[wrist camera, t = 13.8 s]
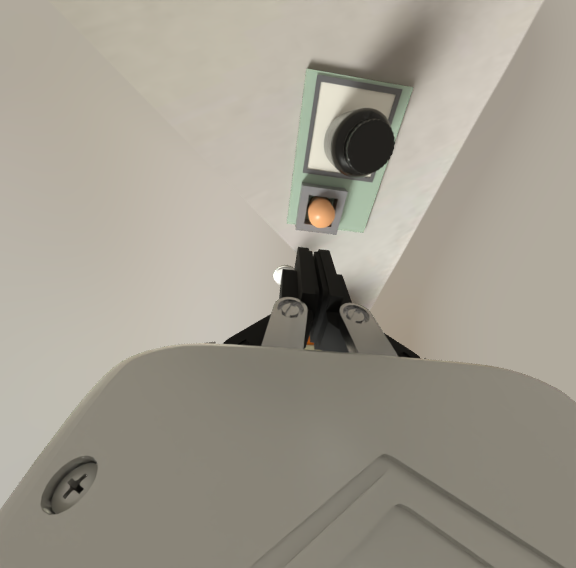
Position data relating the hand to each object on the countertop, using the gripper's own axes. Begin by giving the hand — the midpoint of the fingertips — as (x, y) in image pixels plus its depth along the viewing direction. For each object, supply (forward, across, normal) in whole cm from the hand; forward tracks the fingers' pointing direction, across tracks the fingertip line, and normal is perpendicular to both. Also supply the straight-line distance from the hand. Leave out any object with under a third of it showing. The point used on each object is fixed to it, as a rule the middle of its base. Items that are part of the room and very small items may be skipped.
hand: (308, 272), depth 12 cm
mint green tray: (+29, -7, -2) cm, 29 cm away
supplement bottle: (+28, -7, -5) cm, 29 cm away
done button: (+27, -5, +4) cm, 28 cm away
